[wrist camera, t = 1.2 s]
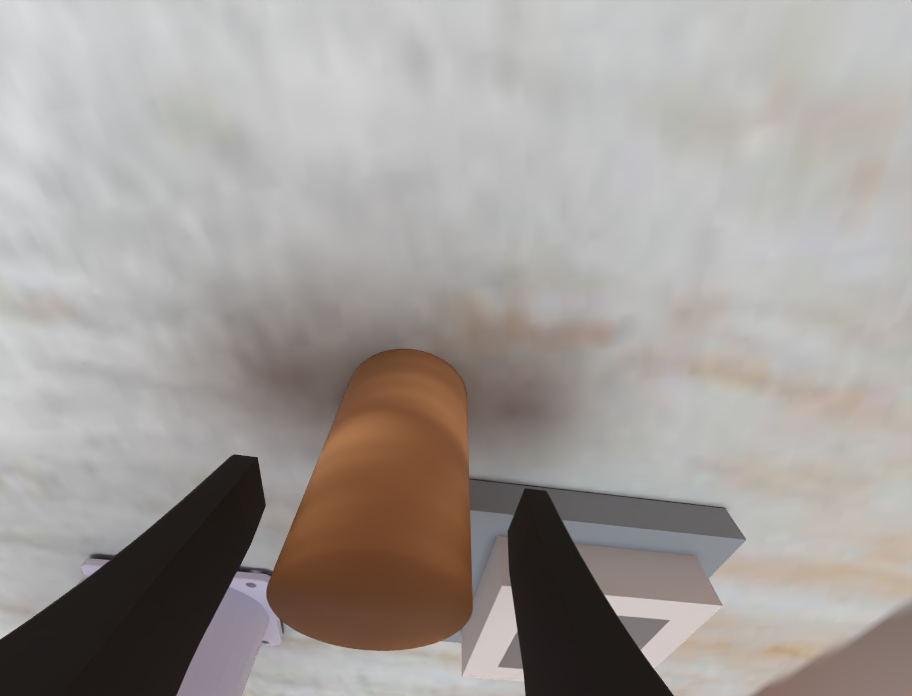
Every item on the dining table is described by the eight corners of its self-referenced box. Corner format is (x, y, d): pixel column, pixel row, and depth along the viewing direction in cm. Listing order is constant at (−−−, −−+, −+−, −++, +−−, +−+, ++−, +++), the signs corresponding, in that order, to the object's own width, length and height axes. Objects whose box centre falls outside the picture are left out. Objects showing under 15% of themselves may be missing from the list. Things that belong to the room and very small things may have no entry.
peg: (347, 434, 15) (275, 643, 9) (349, 340, 13) (254, 537, 7) (456, 447, 15) (455, 656, 9) (476, 358, 13) (492, 561, 7)
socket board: (432, 610, 23) (428, 685, 20) (467, 479, 16) (470, 560, 13) (623, 626, 24) (646, 700, 21) (725, 508, 17) (780, 590, 14)
